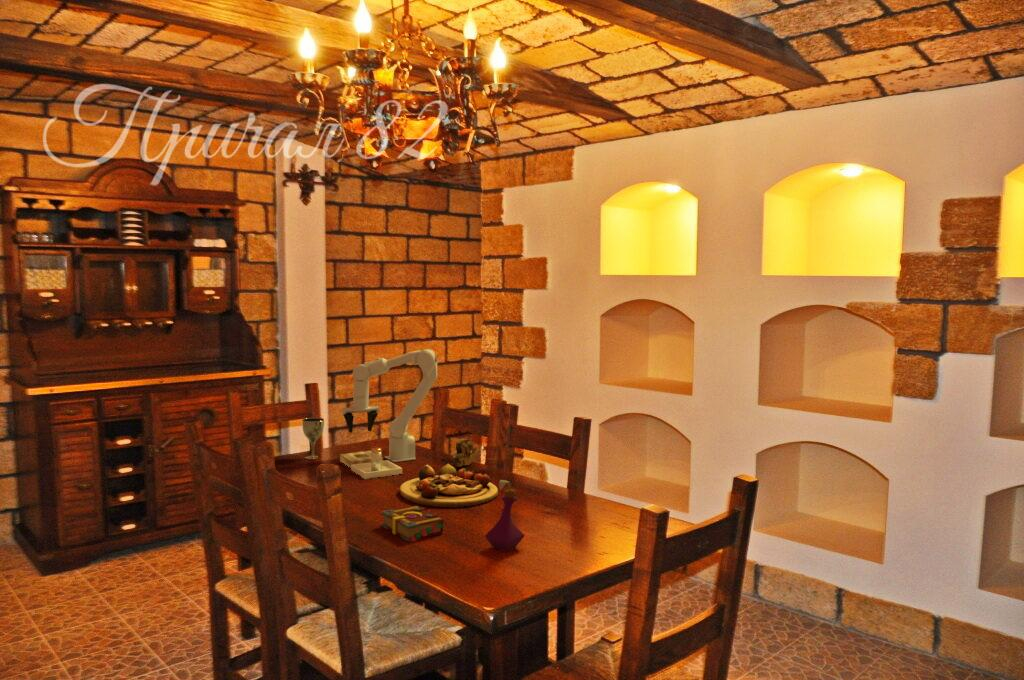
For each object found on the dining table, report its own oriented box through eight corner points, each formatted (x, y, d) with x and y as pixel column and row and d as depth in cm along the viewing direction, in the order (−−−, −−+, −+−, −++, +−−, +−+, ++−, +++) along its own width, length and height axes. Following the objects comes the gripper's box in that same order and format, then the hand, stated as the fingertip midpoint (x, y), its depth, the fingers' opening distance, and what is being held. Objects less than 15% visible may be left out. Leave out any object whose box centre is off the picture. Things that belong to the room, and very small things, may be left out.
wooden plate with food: (449, 516, 215) (450, 489, 215) (378, 493, 236) (379, 468, 235) (517, 495, 240) (519, 471, 240) (448, 476, 260) (449, 453, 260)
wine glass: (328, 458, 279) (328, 419, 278) (312, 462, 272) (312, 422, 271) (313, 454, 283) (313, 416, 282) (297, 458, 277) (297, 419, 275)
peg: (377, 468, 263) (377, 447, 262) (383, 470, 260) (383, 448, 260) (369, 470, 260) (369, 448, 259) (375, 472, 258) (375, 450, 257)
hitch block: (370, 458, 280) (370, 450, 280) (383, 465, 270) (383, 457, 270) (340, 462, 274) (340, 454, 273) (352, 469, 264) (352, 461, 263)
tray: (387, 466, 269) (387, 460, 269) (402, 474, 259) (402, 468, 258) (350, 470, 262) (350, 464, 262) (364, 479, 251) (364, 473, 251)
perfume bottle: (502, 540, 196) (504, 474, 194) (524, 547, 191) (526, 480, 189) (484, 548, 190) (485, 480, 188) (506, 555, 185) (508, 485, 184)
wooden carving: (463, 471, 265) (463, 444, 264) (451, 470, 266) (451, 443, 265) (478, 461, 280) (479, 435, 280) (467, 459, 282) (468, 434, 281)
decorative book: (416, 519, 212) (416, 502, 211) (446, 536, 199) (446, 518, 199) (380, 526, 205) (381, 509, 204) (409, 544, 192) (409, 525, 192)
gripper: (374, 393, 285) (373, 427, 287) (338, 395, 277) (338, 430, 279) (382, 396, 280) (381, 431, 281) (345, 398, 272) (344, 434, 273)
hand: (360, 431), depth 279 cm, fingers open, 7 cm apart
